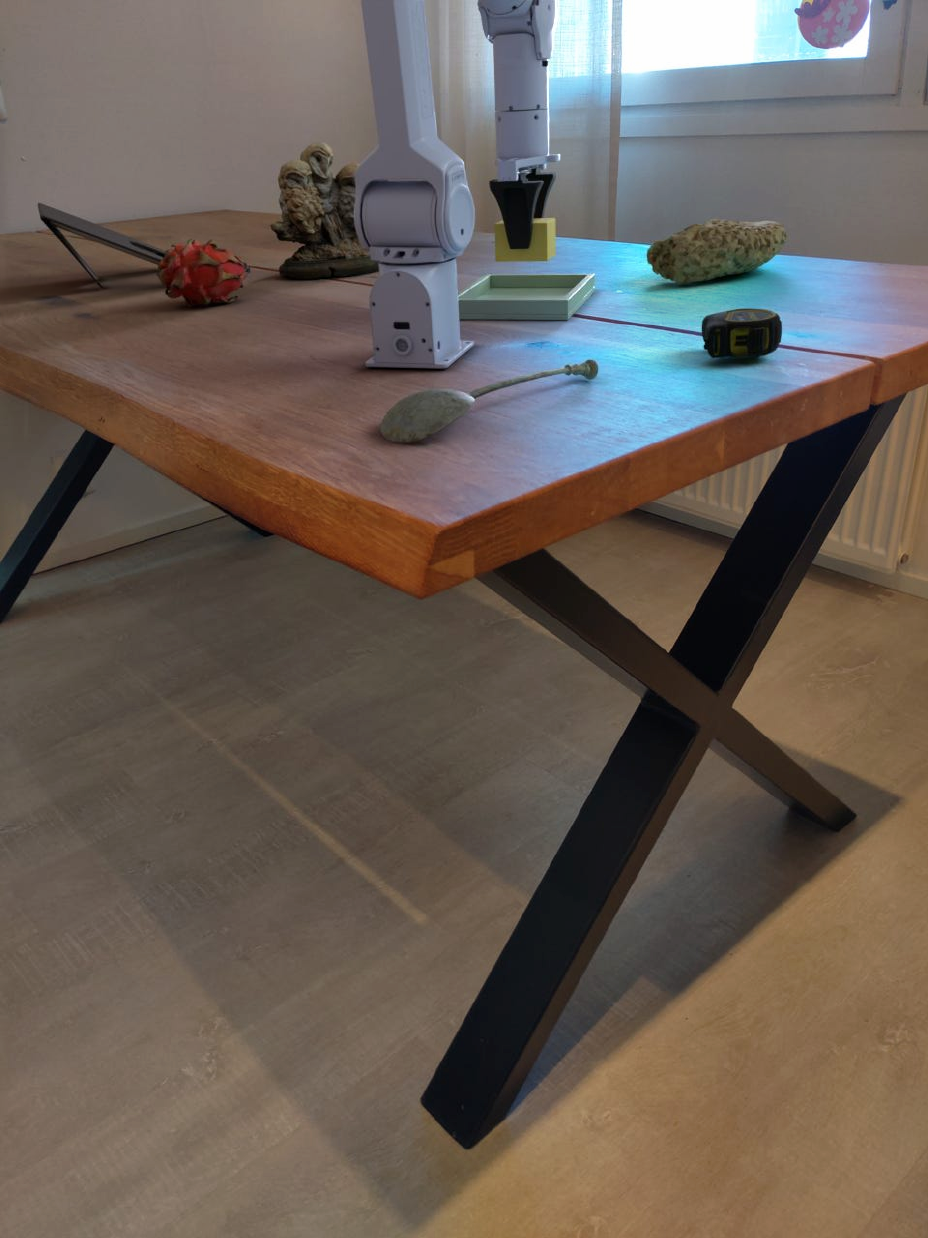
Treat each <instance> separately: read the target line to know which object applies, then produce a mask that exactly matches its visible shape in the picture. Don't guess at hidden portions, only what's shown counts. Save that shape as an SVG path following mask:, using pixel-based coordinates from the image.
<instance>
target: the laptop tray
mask: <svg viewBox="0 0 928 1238" xmlns="http://www.w3.org/2000/svg"><path fill="white" fill-rule="evenodd" d="M37 210H38V214H39V219H40V220H41V222H43V224H44V225H45V226H46V227H47V229H49V230H50V231H51V233H52V234H53V235H54V236H55V237H56V239H58V240H59V241H60V243H61V244H62V245H63V246H64V247H65V248H66V249H67V251H68V252H69V253H70V254H71V255H72V256H73V257H74V258H75V260H76V261H77V262H78V263H79V265H81V266H82V268H83V269H84V270H85V271H86V273H87V274H88V275H89V276H90V277H91V278H92V279H93V281H95V283H96V284H97V286H98V287H99V288H100V289H103V288H104V287H103V285H102V284H101V283H100V282H99V277H98V275H97V274H96V273H95V272H94V271H93V269H92V268H91V267H90V266H89V264H88V263H87V262H86V261H85V260H84V259H83V257H82V256H81V254H79V252H78V251H77V250H76V248H75V247H73V245H72V244H71V243H70V242H69V240H68V239H67V238H66V237H65V235H64V234H63V233H62V232H61V230H64V231H66V232H69V233H71V234H74V235H77V236H79V237H81V238H85V239H86V240H90V241H92V242H95V243H98V244H100V245H103V246H106V247H108V248H111V249H114V250H117V251H119V252H122V253H125V254H127V255H130V256H133V257H135V258H137V259H141V260H143V261H145V262H149V263H151V264H154V265H157V266H158V264H157V263H159V262H160V261H161V260H162V259H163V258H165V257H164V256H165V251H166V250H165V249H162V248H159V247H157V246H154V245H152V244H149V243H146V242H144V241H141V240H139V239H137V238H133V237H130V236H128V235H125V234H124V233H120V232H118V231H116V230H113V229H110V228H108V227H105V226H103V225H99V224H97V223H94V222H92V221H90V220H86V219H85V218H81V217H78V216H76V215H75V214H71V213H69V212H65V211H63V210H61V209H58V208H55V207H52V206H50V205H47V204H44V203H42V202H38V203H37Z"/></svg>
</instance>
